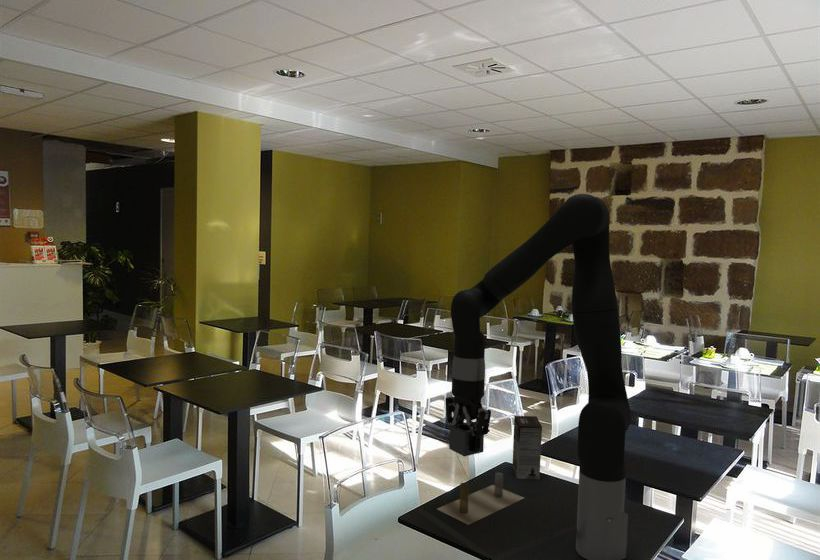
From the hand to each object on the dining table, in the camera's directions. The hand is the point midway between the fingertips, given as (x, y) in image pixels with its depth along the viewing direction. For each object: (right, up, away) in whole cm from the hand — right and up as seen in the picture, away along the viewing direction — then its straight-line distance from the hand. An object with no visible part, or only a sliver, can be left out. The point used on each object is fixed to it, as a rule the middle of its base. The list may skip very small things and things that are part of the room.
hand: (466, 446), depth 137 cm
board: (+4, -17, +6) cm, 18 cm away
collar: (0, -1, 0) cm, 1 cm away
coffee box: (+19, -16, +25) cm, 35 cm away
